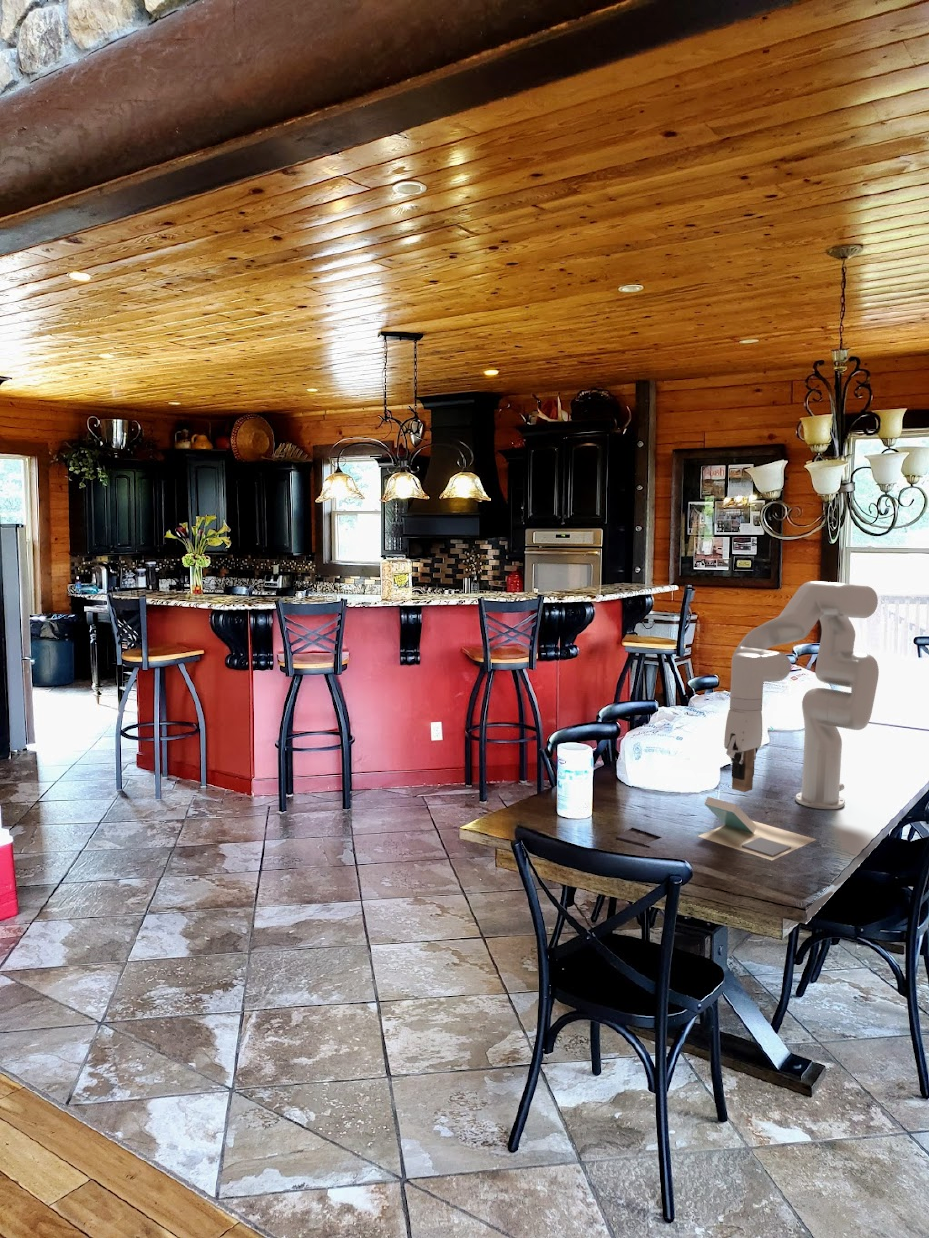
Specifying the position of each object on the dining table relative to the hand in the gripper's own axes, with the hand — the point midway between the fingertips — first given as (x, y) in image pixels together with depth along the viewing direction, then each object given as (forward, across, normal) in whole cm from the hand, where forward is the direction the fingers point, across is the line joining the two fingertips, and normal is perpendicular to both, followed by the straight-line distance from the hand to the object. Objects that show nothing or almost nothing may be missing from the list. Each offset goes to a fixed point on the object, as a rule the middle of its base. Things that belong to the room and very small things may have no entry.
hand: (742, 776), depth 224 cm
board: (+15, +2, +6) cm, 16 cm away
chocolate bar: (+15, +17, -15) cm, 27 cm away
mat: (+13, +6, +11) cm, 19 cm away
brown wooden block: (+3, 0, 0) cm, 3 cm away
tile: (+13, 0, 0) cm, 13 cm away
